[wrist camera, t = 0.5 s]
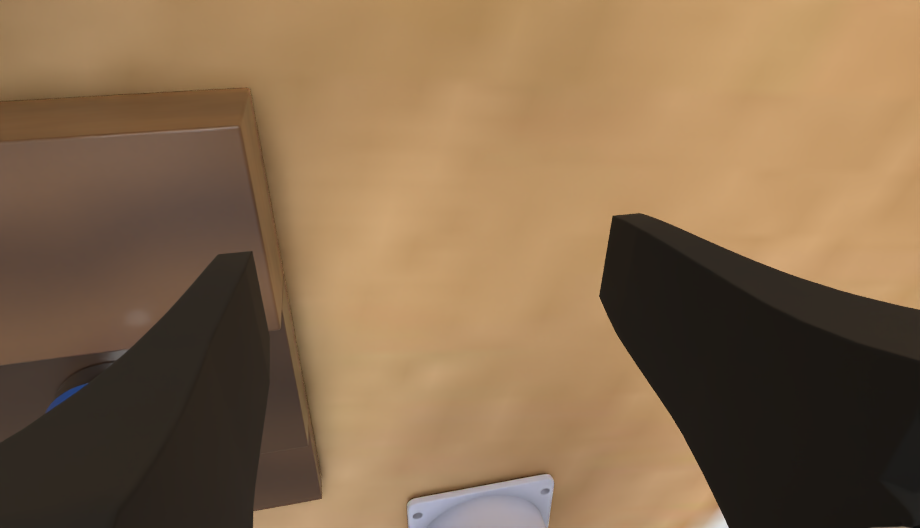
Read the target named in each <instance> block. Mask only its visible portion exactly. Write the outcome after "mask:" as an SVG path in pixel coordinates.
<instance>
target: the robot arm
mask: <svg viewBox="0 0 920 528" xmlns="http://www.w3.org/2000/svg"><path fill="white" fill-rule="evenodd" d="M599 297H600V299H601V302H602V304H603V306H604V308H605V311H606V313H607V315H608V317H609V319H610V321H611V323H612V326H613V328H614V330H615V332H616V334H617V335H618V337H619V339H620V340H621V342H622V343H623V345H624V346H625V348H626V349H627V351H628V352H629V354H630V355H631V357H632V358H633V360H634V361H635V363H636V364H637V366H638V367H639V369H640V370H641V372H642V373H643V375H644V376H645V378H646V379H647V381H648V382H649V384H650V385H651V387H652V388H653V389H654V391H655V392H656V394H657V395H658V397H659V398H660V400H661V401H662V403H663V404H664V406H665V407H666V409H667V410H668V412H669V413H670V415H671V416H672V418H673V419H674V421H675V423H676V424H677V426H678V428H679V429H680V431H681V433H682V434H683V436H684V438H685V440H686V442H687V444H688V446H689V448H690V449H691V451H692V453H693V455H694V457H695V459H696V461H697V463H698V465H699V467H700V469H701V470H702V472H703V474H704V476H705V478H706V481H707V483H708V485H709V487H710V489H711V491H712V493H713V495H714V497H715V499H716V501H717V503H718V505H719V507H720V509H721V512H722V514H723V516H724V518H725V520H726V522H727V525H728V527H729V528H920V310H918V309H913V308H908V307H903V306H899V305H895V304H891V303H887V302H882V301H878V300H874V299H870V298H866V297H862V296H858V295H854V294H851V293H847V292H844V291H840V290H837V289H833V288H830V287H827V286H824V285H821V284H818V283H814V282H811V281H808V280H805V279H802V278H799V277H796V276H793V275H790V274H787V273H785V272H782V271H779V270H777V269H774V268H771V267H769V266H766V265H764V264H761V263H759V262H756V261H753V260H751V259H749V258H746V257H744V256H741V255H739V254H737V253H734V252H732V251H730V250H727V249H725V248H723V247H720V246H718V245H716V244H714V243H711V242H709V241H707V240H705V239H702V238H700V237H698V236H696V235H693V234H691V233H689V232H687V231H684V230H682V229H680V228H678V227H675V226H673V225H671V224H668V223H666V222H663V221H661V220H658V219H656V218H653V217H650V216H647V215H644V214H640V213H638V214H627V215H617V216H613V217H612V223H611V229H610V235H609V241H608V247H607V253H606V259H605V265H604V271H603V277H602V283H601V289H600V295H599ZM269 384H270V336H269V331H268V326H267V321H266V316H265V311H264V306H263V301H262V296H261V291H260V286H259V281H258V276H257V271H256V266H255V261H254V256H253V251H246V252H236V253H226V254H218V255H217V256H216V257H215V258H214V259H213V261H212V262H211V263H210V264H209V265H208V266H207V267H206V268H205V270H204V271H203V272H202V273H201V274H200V275H199V277H198V278H197V279H196V280H195V281H194V282H193V284H192V285H191V286H190V287H189V288H188V289H187V290H186V292H185V293H184V294H183V295H182V296H181V297H180V298H179V299H178V301H177V302H176V303H175V304H174V305H173V306H172V307H171V308H170V309H169V310H168V312H167V313H166V314H165V315H164V316H163V317H162V318H161V319H160V320H159V321H158V322H157V323H156V324H155V325H154V326H153V327H152V328H151V329H150V330H149V331H148V332H147V333H146V334H145V335H144V336H143V337H141V338H140V339H139V340H138V341H137V342H136V343H135V344H134V345H133V346H132V347H131V348H130V349H129V350H128V351H127V352H126V353H124V354H123V355H122V356H121V357H120V358H119V359H118V360H116V361H115V362H114V363H113V364H112V365H111V366H109V367H108V368H107V369H105V370H104V371H103V372H102V373H100V374H99V375H98V376H97V377H95V378H94V379H93V380H92V381H90V382H89V383H88V384H87V385H85V386H84V387H83V388H81V389H80V390H79V391H77V392H76V393H74V394H73V395H72V396H70V397H69V398H67V399H66V400H64V401H63V402H61V403H60V404H58V405H57V406H56V407H54V408H53V409H51V410H50V411H48V412H47V413H45V414H44V415H42V416H41V417H40V418H38V419H37V420H35V421H34V422H32V423H31V424H29V425H28V426H26V427H25V428H23V429H22V430H20V431H19V432H17V433H15V434H14V435H12V436H10V437H9V438H7V439H5V440H4V441H2V442H0V528H253V506H254V495H255V485H256V477H257V470H258V463H259V456H260V449H261V442H262V435H263V428H264V421H265V414H266V406H267V399H268V392H269ZM553 488H554V480H553V478H552V476H551V475H549V474H543V475H537V476H532V477H526V478H521V479H516V480H510V481H505V482H499V483H494V484H489V485H483V486H478V487H472V488H467V489H461V490H456V491H451V492H445V493H440V494H434V495H429V496H424V497H418V498H414V499H412V500H410V501H409V502H408V503H407V518H408V528H548V524H549V517H550V510H551V503H552V496H553Z"/></svg>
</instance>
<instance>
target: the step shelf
mask: <svg viewBox="0 0 920 528" xmlns="http://www.w3.org/2000/svg"><path fill="white" fill-rule="evenodd" d="M246 251H253V256H254V261H255V266H256V271H257V276H258V281H259V286H260V291H261V296H262V301H263V306H264V311H265V316H266V321H267V326H268V331H269V336H270V384H269V392H268V399H267V406H266V414H265V421H264V428H263V435H262V442H261V449H260V456H259V463H258V470H257V477H256V485H255V495H254V506H253V511H257V510H263V509H268V508H274V507H279V506H285V505H290V504H296V503H301V502H307V501H312V500H318V499H322V480H321V473H320V468H319V462H318V457H317V451H316V446H315V440H314V435H313V430H312V424H311V419H310V413H309V408H308V402H307V397H306V391H305V386H304V380H303V375H302V370H301V364H300V359H299V353H298V348H297V342H296V337H295V331H294V326H293V320H292V315H291V309H290V304H289V298H288V293H287V287H286V282H285V277H284V273H283V266H282V261H281V255H280V250H279V244H278V239H277V233H276V228H275V222H274V217H273V211H272V206H271V201H270V195H269V190H268V184H267V179H266V173H265V168H264V162H263V157H262V151H261V146H260V140H259V135H258V130H257V124H256V119H255V113H254V108H253V102H252V97H251V91H250V89H249V88H233V89H215V90H197V91H179V92H161V93H143V94H125V95H107V96H89V97H71V98H54V99H36V100H18V101H0V442H2V441H4V440H5V439H7V438H9V437H10V436H12V435H14V434H15V433H17V432H19V431H20V430H22V429H23V428H25V427H26V426H28V425H29V424H31V423H32V422H34V421H35V420H37V419H38V418H40V417H41V416H42V415H44V414H45V412H46V410H47V408H48V407H49V406H50V404H51V402H52V400H53V398H54V396H55V394H56V391H57V390H58V388H59V387H60V385H61V384H62V383H63V382H64V381H65V380H66V379H68V378H69V377H70V376H72V375H73V374H75V373H77V372H78V371H80V370H83V369H85V368H88V367H91V366H95V365H99V364H105V363H114V362H115V361H116V360H118V359H119V358H120V357H121V356H122V355H123V354H124V353H126V352H127V351H128V350H129V349H130V348H131V347H132V346H133V345H134V344H135V343H136V342H137V341H138V340H139V339H140V338H141V337H143V336H144V335H145V334H146V333H147V332H148V331H149V330H150V329H151V328H152V327H153V326H154V325H155V324H156V323H157V322H158V321H159V320H160V319H161V318H162V317H163V316H164V315H165V314H166V313H167V312H168V310H169V309H170V308H171V307H172V306H173V305H174V304H175V303H176V302H177V301H178V299H179V298H180V297H181V296H182V295H183V294H184V293H185V292H186V290H187V289H188V288H189V287H190V286H191V285H192V284H193V282H194V281H195V280H196V279H197V278H198V277H199V275H200V274H201V273H202V272H203V271H204V270H205V268H206V267H207V266H208V265H209V264H210V263H211V262H212V261H213V259H214V258H215V257H216V256H217V255H218V254H226V253H236V252H246Z"/></svg>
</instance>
